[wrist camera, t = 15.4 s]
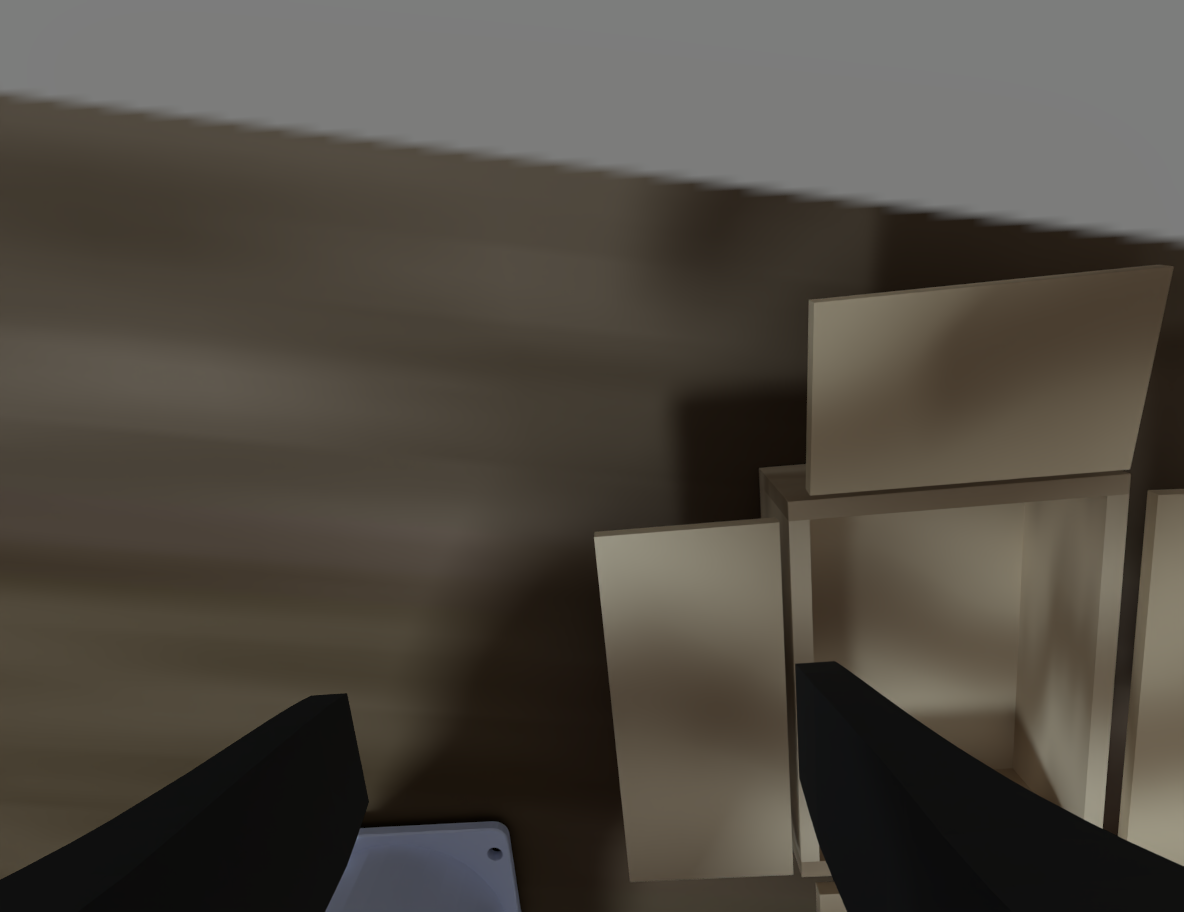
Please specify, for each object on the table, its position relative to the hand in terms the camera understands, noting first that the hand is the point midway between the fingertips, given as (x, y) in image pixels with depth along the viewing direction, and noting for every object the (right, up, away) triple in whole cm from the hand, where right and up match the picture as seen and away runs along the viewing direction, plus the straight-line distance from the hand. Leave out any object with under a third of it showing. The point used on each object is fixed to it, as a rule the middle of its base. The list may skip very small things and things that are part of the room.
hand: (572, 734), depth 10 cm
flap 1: (+9, +6, +4) cm, 11 cm away
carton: (+8, -3, +11) cm, 14 cm away
